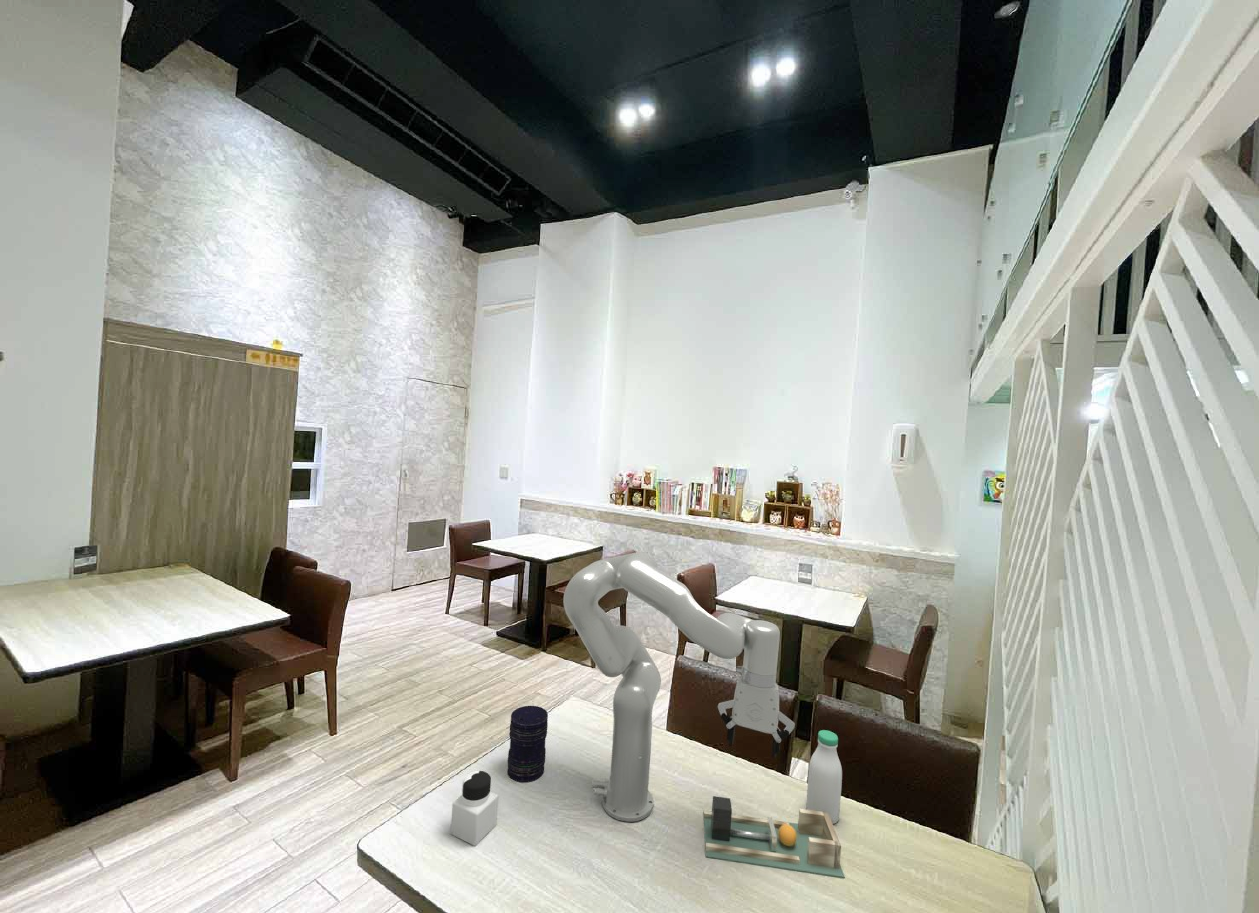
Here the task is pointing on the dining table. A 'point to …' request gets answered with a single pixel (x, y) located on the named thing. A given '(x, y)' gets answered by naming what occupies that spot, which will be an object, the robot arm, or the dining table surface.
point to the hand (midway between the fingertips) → (752, 749)
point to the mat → (768, 849)
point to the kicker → (723, 829)
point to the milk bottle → (825, 777)
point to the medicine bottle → (474, 808)
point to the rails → (751, 852)
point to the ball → (787, 835)
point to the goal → (820, 849)
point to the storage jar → (527, 743)
